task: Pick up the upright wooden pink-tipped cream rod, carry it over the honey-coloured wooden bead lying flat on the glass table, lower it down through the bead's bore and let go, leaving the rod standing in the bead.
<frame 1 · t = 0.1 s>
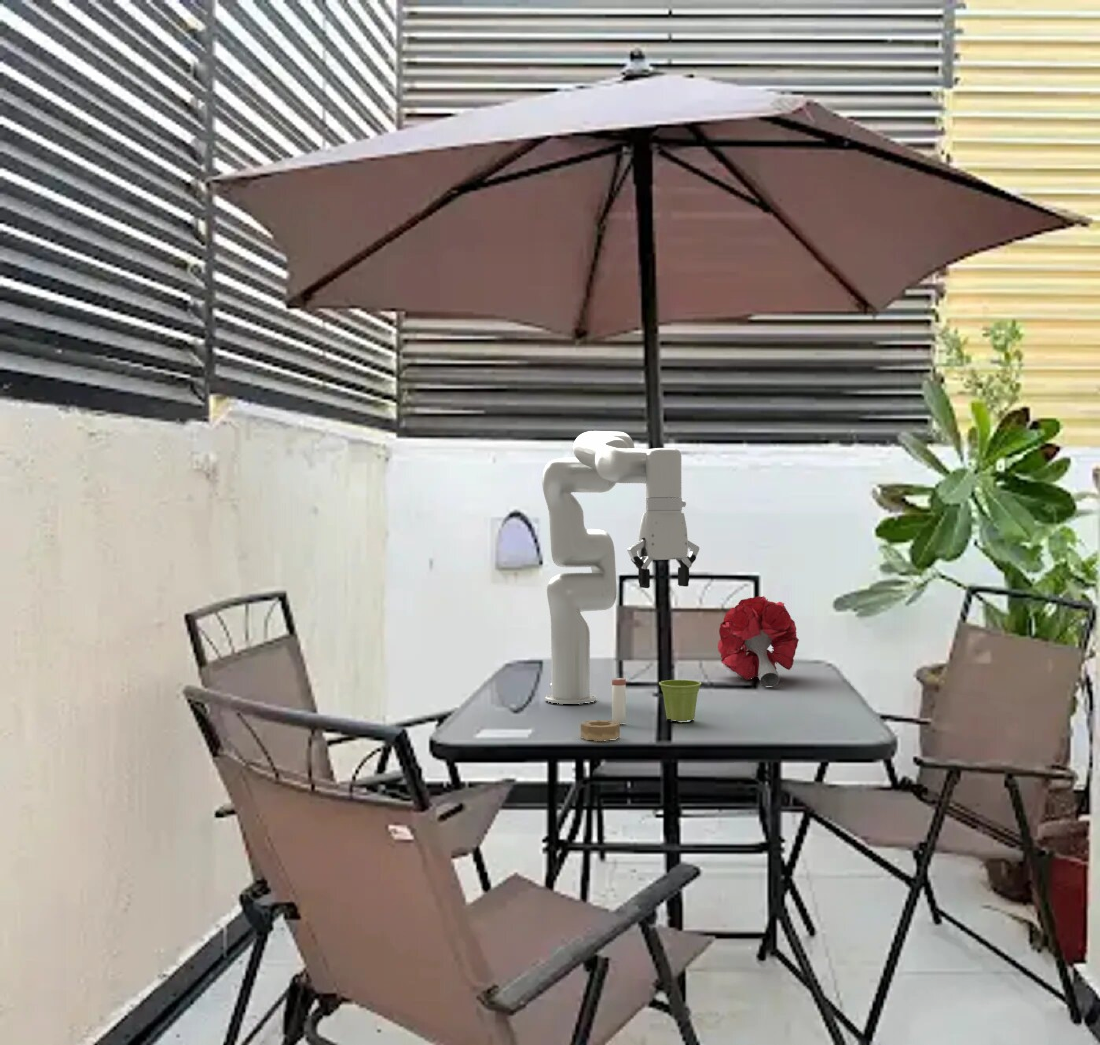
hand: (664, 586, 254), 31 cm above the table, tool pointing down, fingers open, 9 cm apart
pink-tipped cream rod: (618, 724, 265), on the table
plant pot: (680, 722, 268), on the table
bead: (600, 737, 249), on the table
bouquet: (758, 681, 328), on the table
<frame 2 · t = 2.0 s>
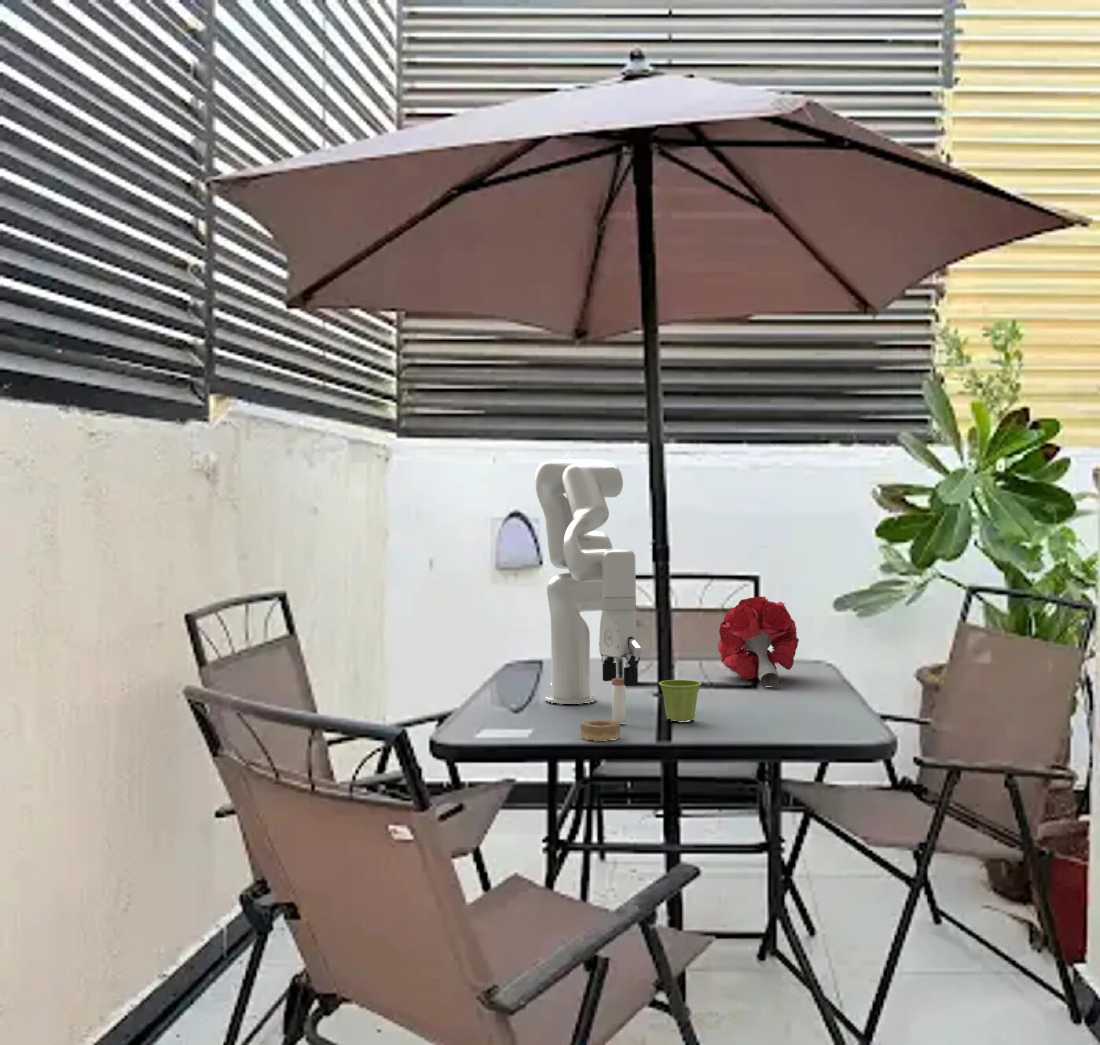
hand: (620, 683, 264), 9 cm above the table, tool pointing down, fingers open, 9 cm apart
nothing on the table moved.
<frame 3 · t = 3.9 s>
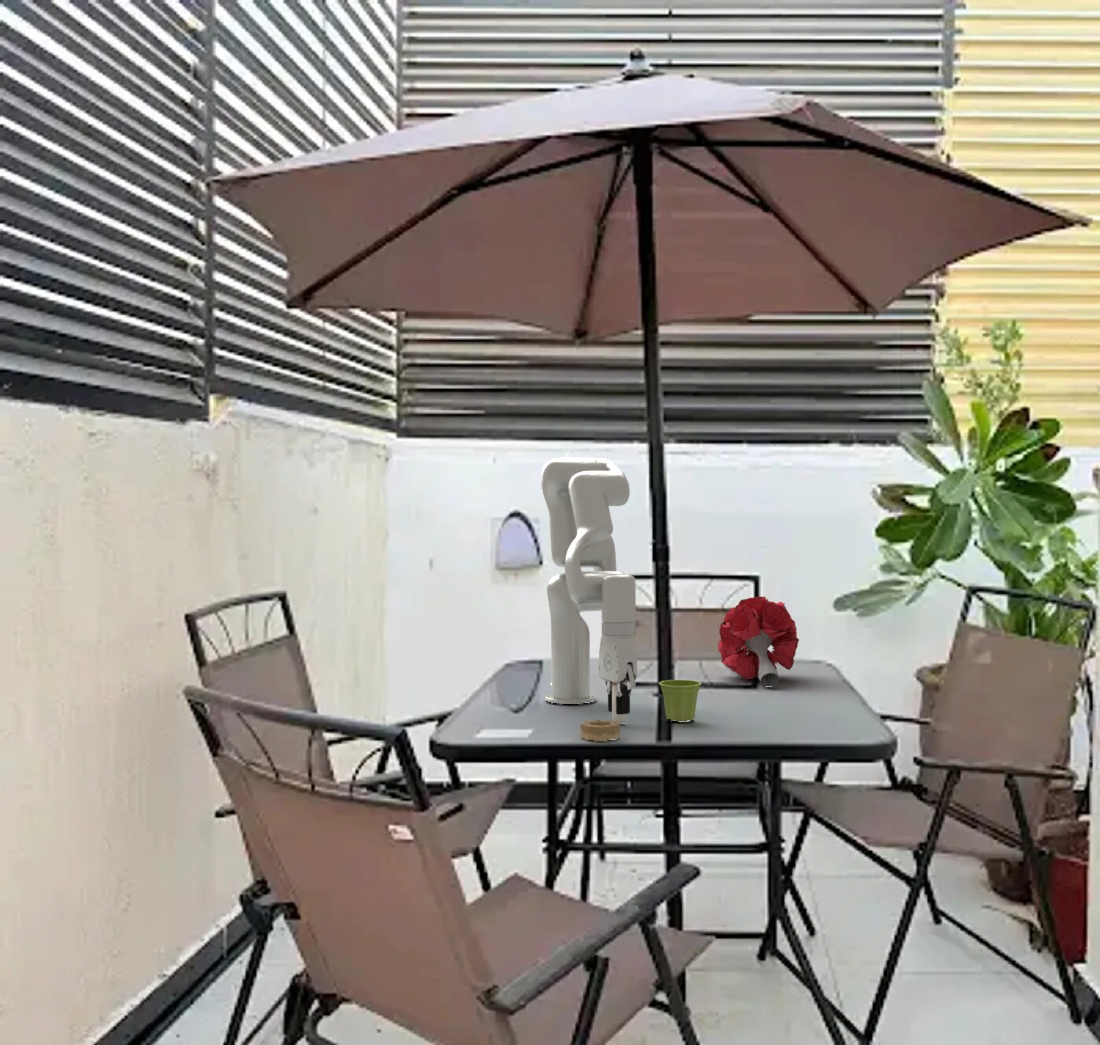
hand: (618, 711, 265), 3 cm above the table, tool pointing down, fingers closed on pink-tipped cream rod, 3 cm apart
pink-tipped cream rod: (618, 724, 265), on the table, touching gripper
everything else where it was.
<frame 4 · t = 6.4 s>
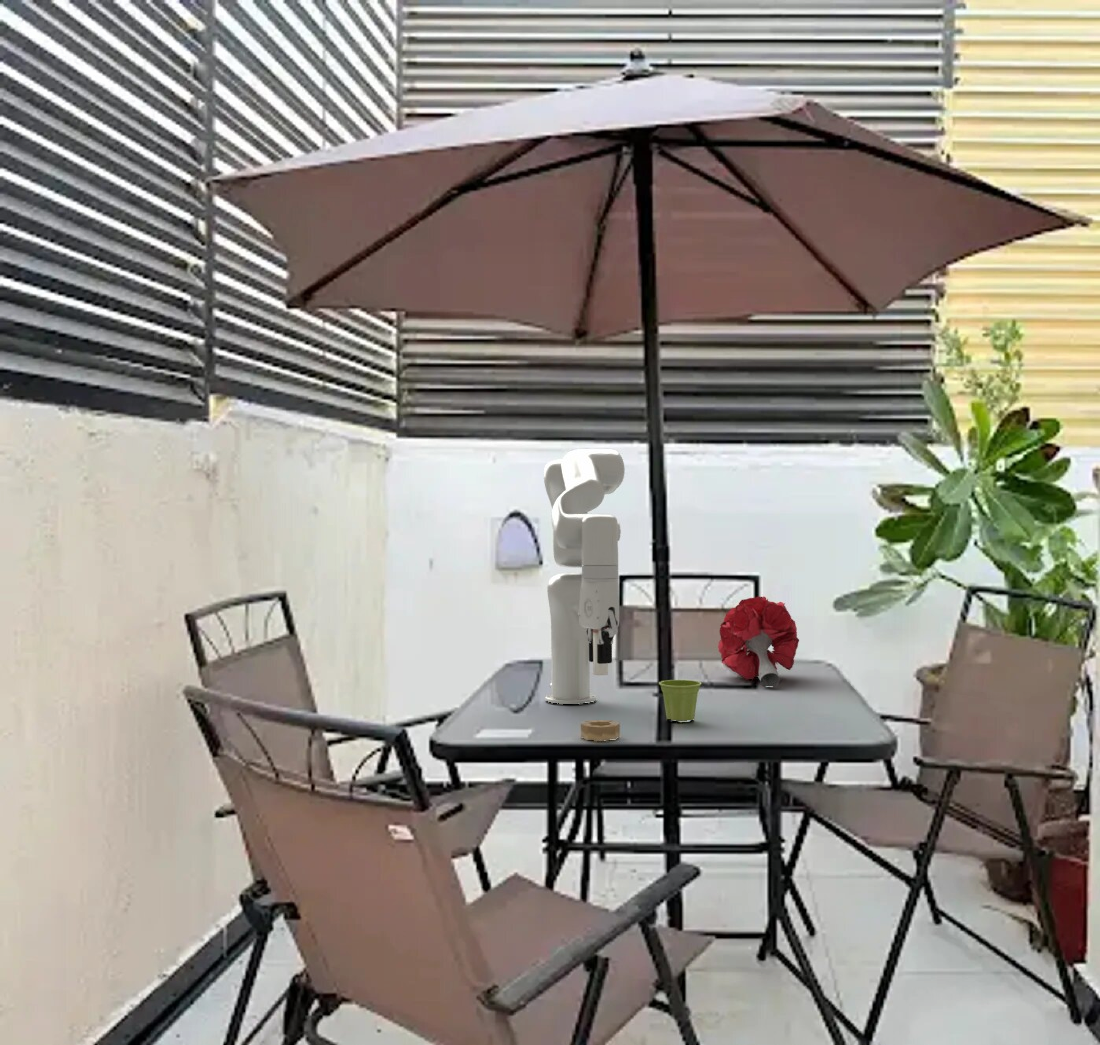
hand: (600, 661, 249), 16 cm above the table, tool pointing down, fingers closed on pink-tipped cream rod, 3 cm apart
pink-tipped cream rod: (600, 674, 249), point 13 cm above the table, touching gripper
everything else where it was.
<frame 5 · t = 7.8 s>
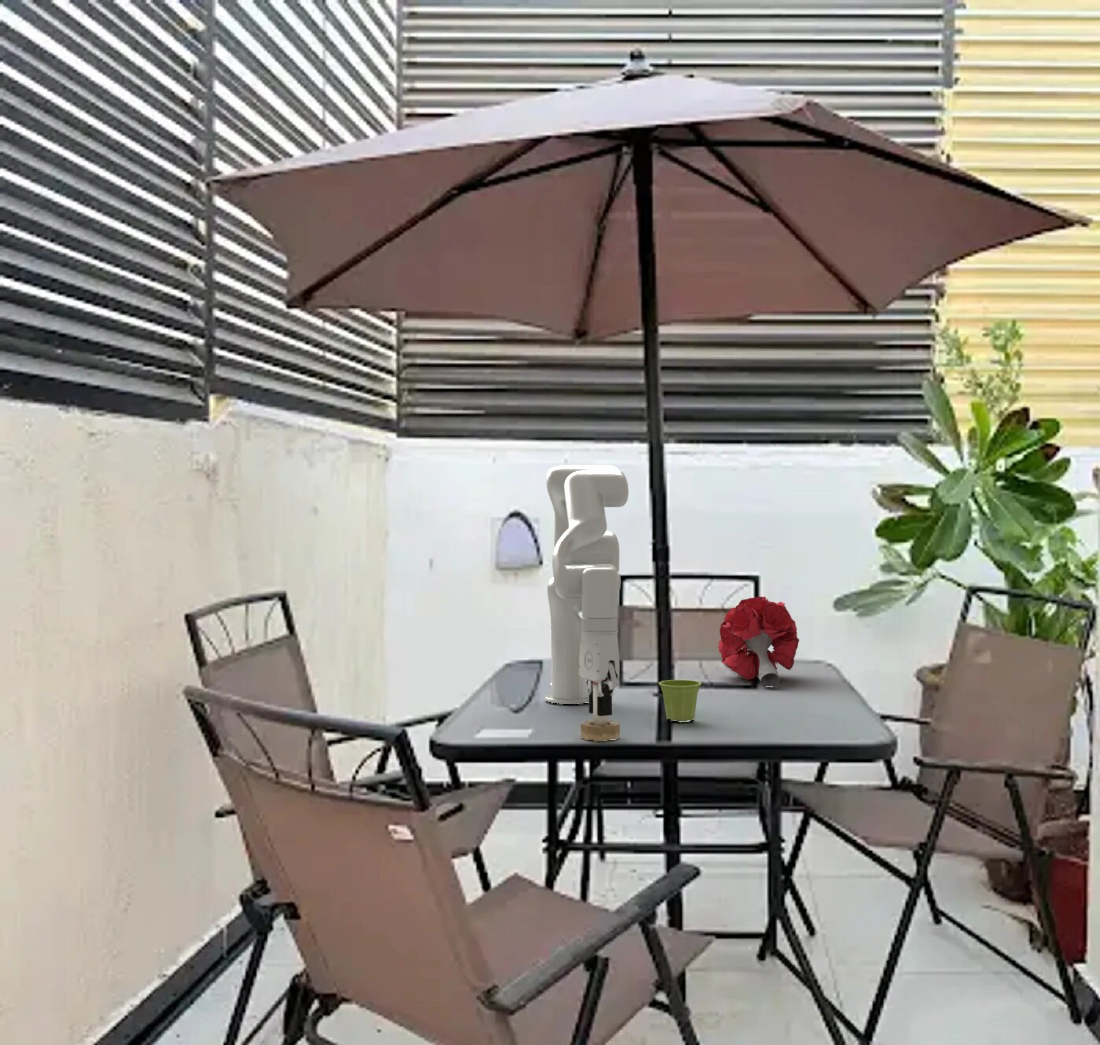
hand: (600, 713, 249), 5 cm above the table, tool pointing down, fingers closed on pink-tipped cream rod, 3 cm apart
pink-tipped cream rod: (600, 726, 249), point 2 cm above the table, touching gripper
everything else where it was.
when the fingers open (4 cm above the table, at t = 8.9 s): pink-tipped cream rod drops 1 cm, resting in bead.
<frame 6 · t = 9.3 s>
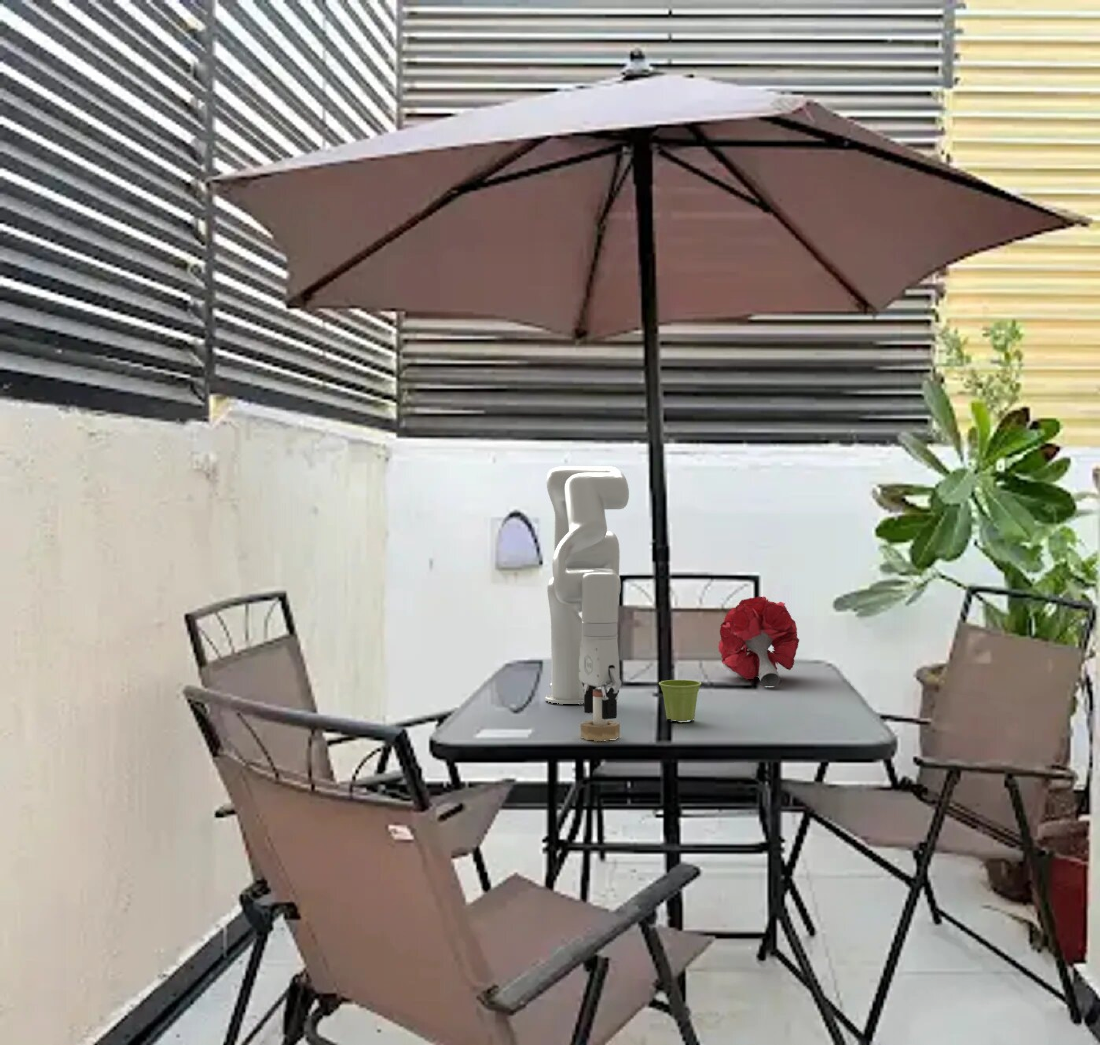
hand: (600, 714, 249), 5 cm above the table, tool pointing down, fingers open, 7 cm apart
pink-tipped cream rod: (600, 737, 249), resting in bead
everything else where it was.
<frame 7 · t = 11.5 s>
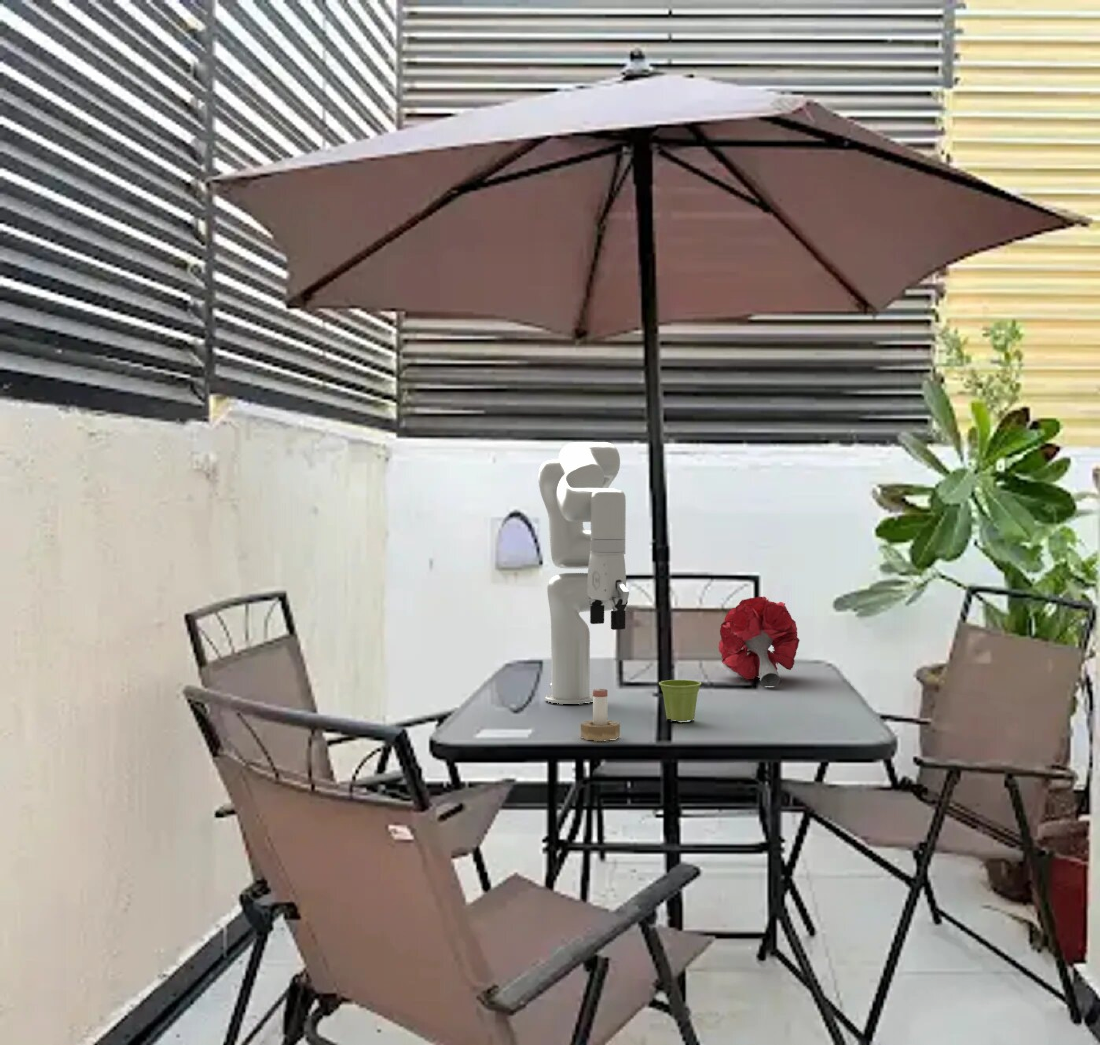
hand: (607, 626, 258), 22 cm above the table, tool pointing down, fingers open, 9 cm apart
nothing on the table moved.
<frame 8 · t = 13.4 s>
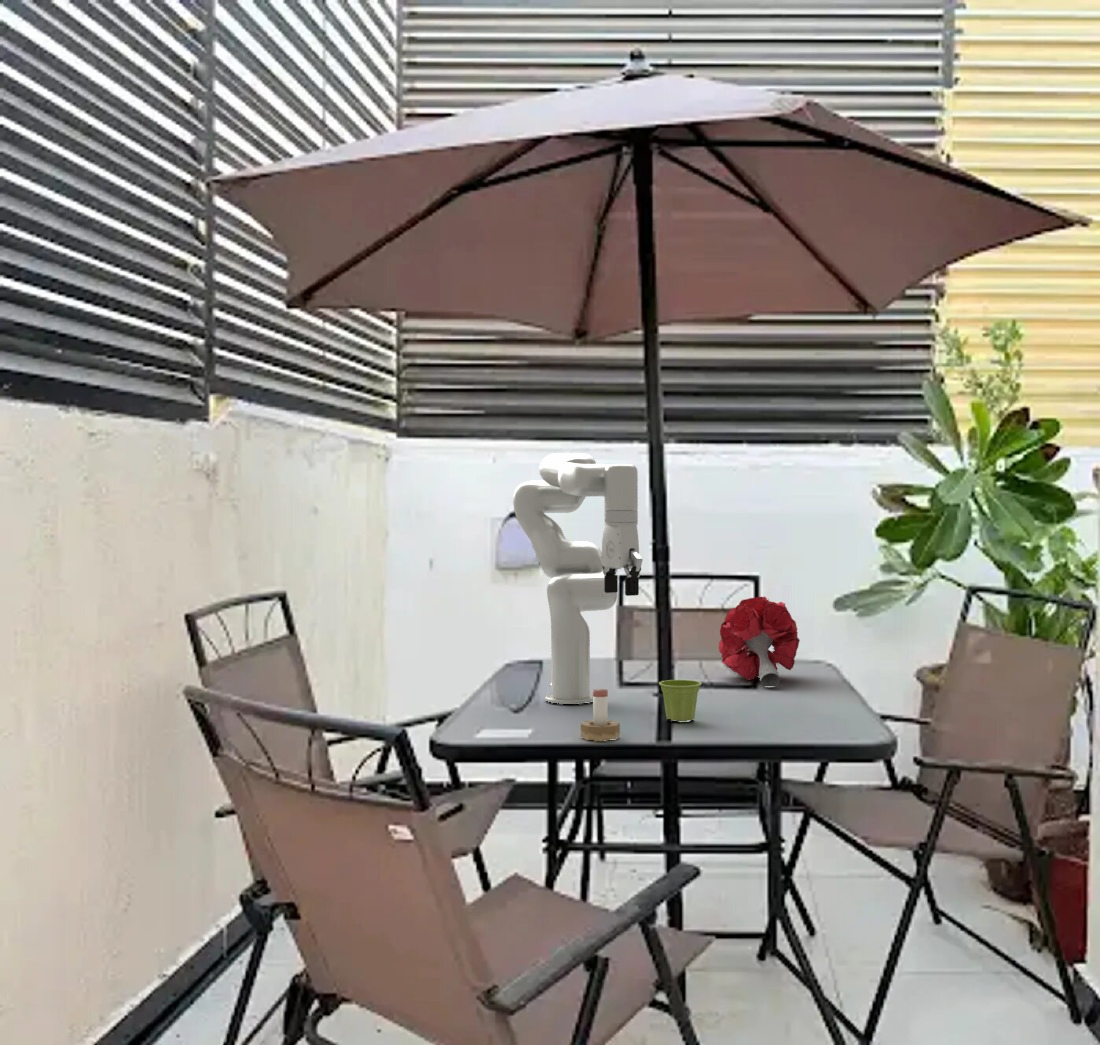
hand: (621, 593, 271), 28 cm above the table, tool pointing down, fingers open, 9 cm apart
nothing on the table moved.
at the end: pink-tipped cream rod 0.1 cm off-centre on the bead, point 0.0 cm above the bead's base; pink-tipped cream rod tilted 0°; the gripper is holding nothing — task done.
